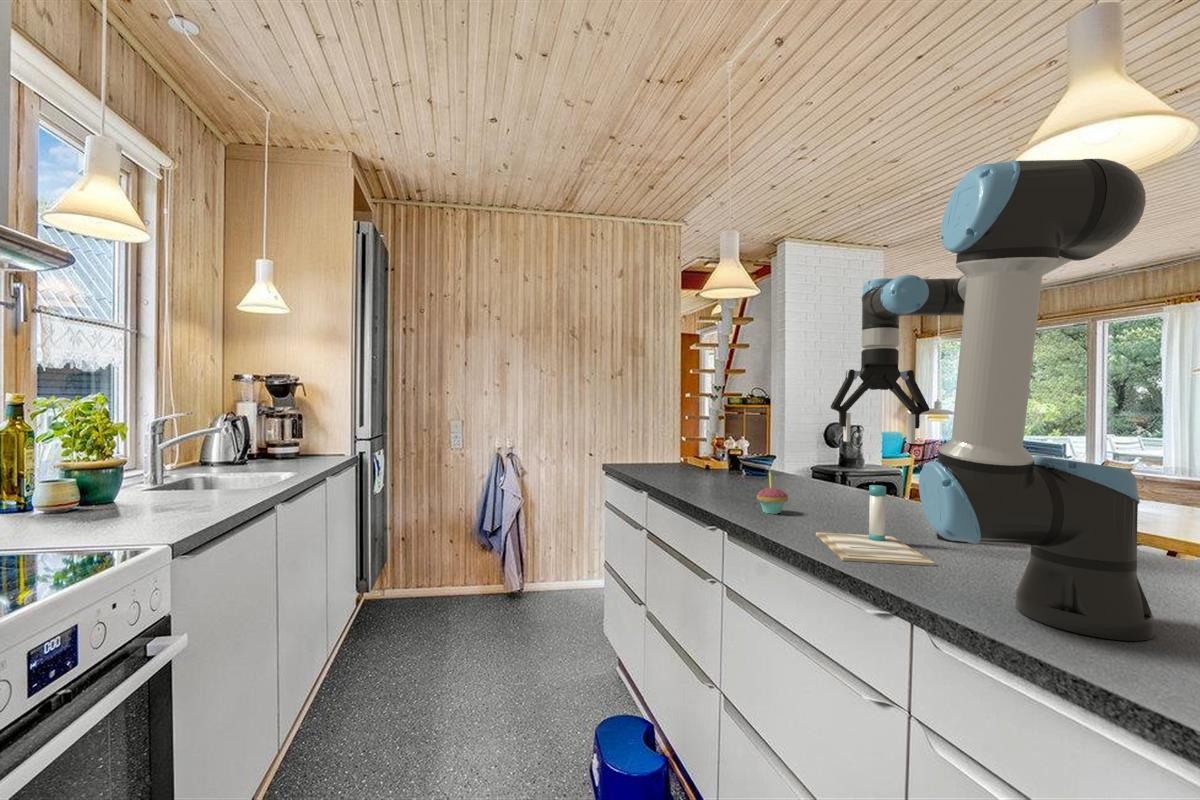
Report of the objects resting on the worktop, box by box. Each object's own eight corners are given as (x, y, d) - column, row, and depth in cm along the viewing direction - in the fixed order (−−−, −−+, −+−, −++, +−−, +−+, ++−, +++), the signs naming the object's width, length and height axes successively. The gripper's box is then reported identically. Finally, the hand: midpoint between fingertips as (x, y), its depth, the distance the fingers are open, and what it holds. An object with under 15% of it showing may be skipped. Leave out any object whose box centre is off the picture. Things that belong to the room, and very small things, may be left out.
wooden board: (935, 566, 105) (935, 561, 105) (842, 560, 108) (842, 556, 108) (891, 538, 127) (892, 535, 127) (815, 534, 130) (815, 531, 130)
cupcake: (752, 509, 160) (752, 469, 160) (779, 509, 161) (780, 469, 161) (764, 515, 152) (764, 472, 152) (793, 515, 152) (793, 472, 153)
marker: (887, 541, 121) (888, 487, 121) (871, 540, 122) (872, 486, 122) (882, 538, 124) (883, 485, 124) (866, 537, 125) (867, 484, 125)
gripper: (931, 350, 125) (930, 443, 125) (818, 350, 129) (816, 439, 129) (947, 347, 118) (945, 445, 118) (826, 346, 122) (824, 441, 121)
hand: (878, 442), depth 123 cm, fingers open, 13 cm apart
